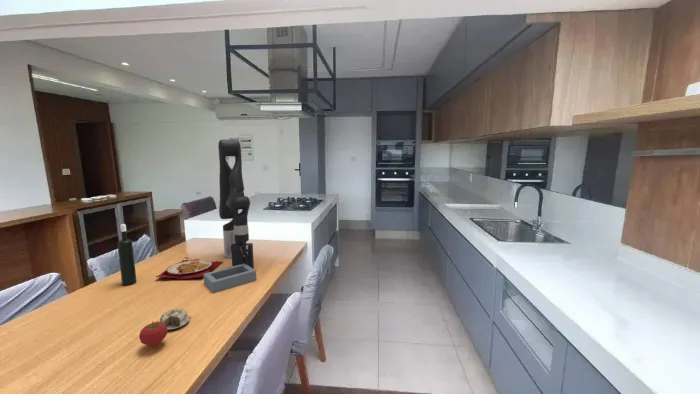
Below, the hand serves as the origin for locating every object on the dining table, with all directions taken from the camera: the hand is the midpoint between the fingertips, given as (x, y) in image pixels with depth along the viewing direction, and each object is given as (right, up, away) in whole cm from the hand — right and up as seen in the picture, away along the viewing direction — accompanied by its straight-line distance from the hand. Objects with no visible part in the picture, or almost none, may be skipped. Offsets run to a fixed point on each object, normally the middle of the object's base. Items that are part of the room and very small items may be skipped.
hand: (242, 260), depth 160 cm
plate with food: (-26, -12, -6) cm, 29 cm away
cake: (-7, -13, -50) cm, 52 cm away
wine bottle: (-51, -8, -16) cm, 54 cm away
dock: (-1, -7, -15) cm, 16 cm away
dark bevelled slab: (0, -5, +1) cm, 5 cm away
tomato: (-7, -14, -62) cm, 64 cm away
